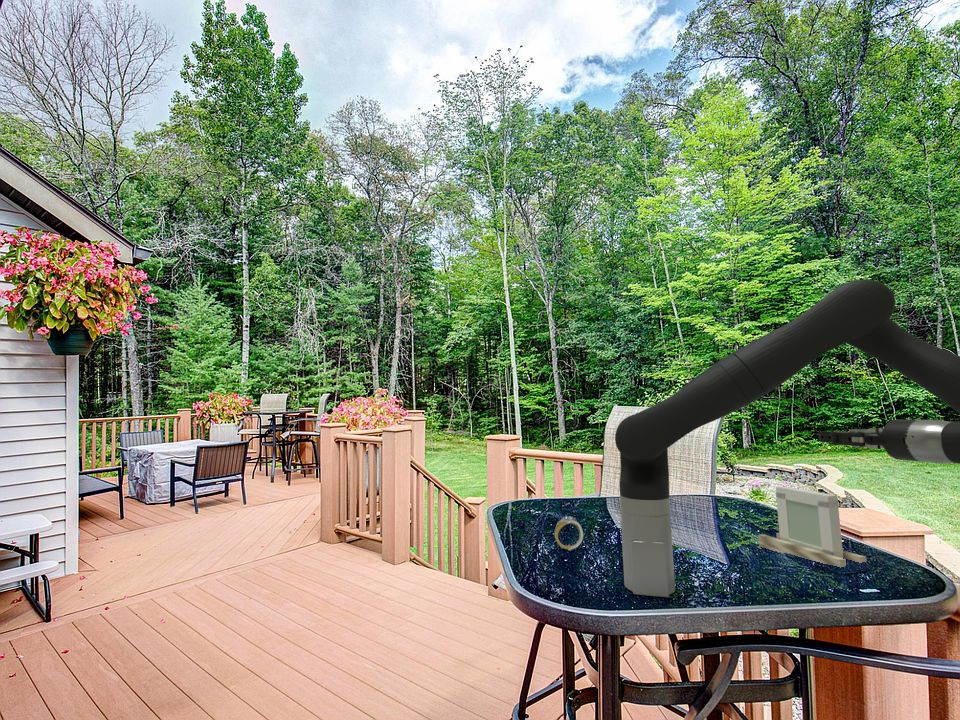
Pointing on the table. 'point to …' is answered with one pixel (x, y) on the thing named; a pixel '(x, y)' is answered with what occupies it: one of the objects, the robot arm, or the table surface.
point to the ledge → (807, 551)
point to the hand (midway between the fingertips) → (835, 436)
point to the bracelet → (560, 525)
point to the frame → (809, 519)
